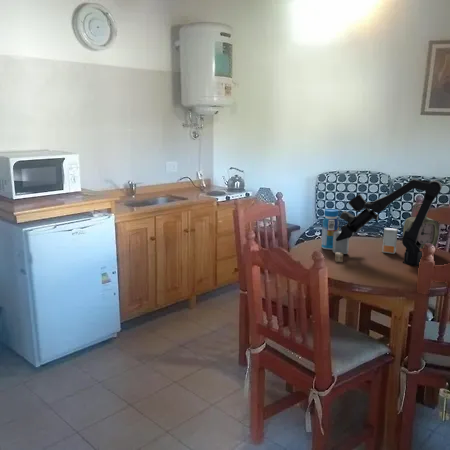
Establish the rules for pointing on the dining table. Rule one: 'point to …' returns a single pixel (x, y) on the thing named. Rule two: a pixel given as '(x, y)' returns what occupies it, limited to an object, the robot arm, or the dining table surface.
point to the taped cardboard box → (338, 257)
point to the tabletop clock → (424, 230)
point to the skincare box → (389, 240)
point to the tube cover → (340, 244)
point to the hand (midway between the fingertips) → (338, 238)
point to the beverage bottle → (329, 228)
